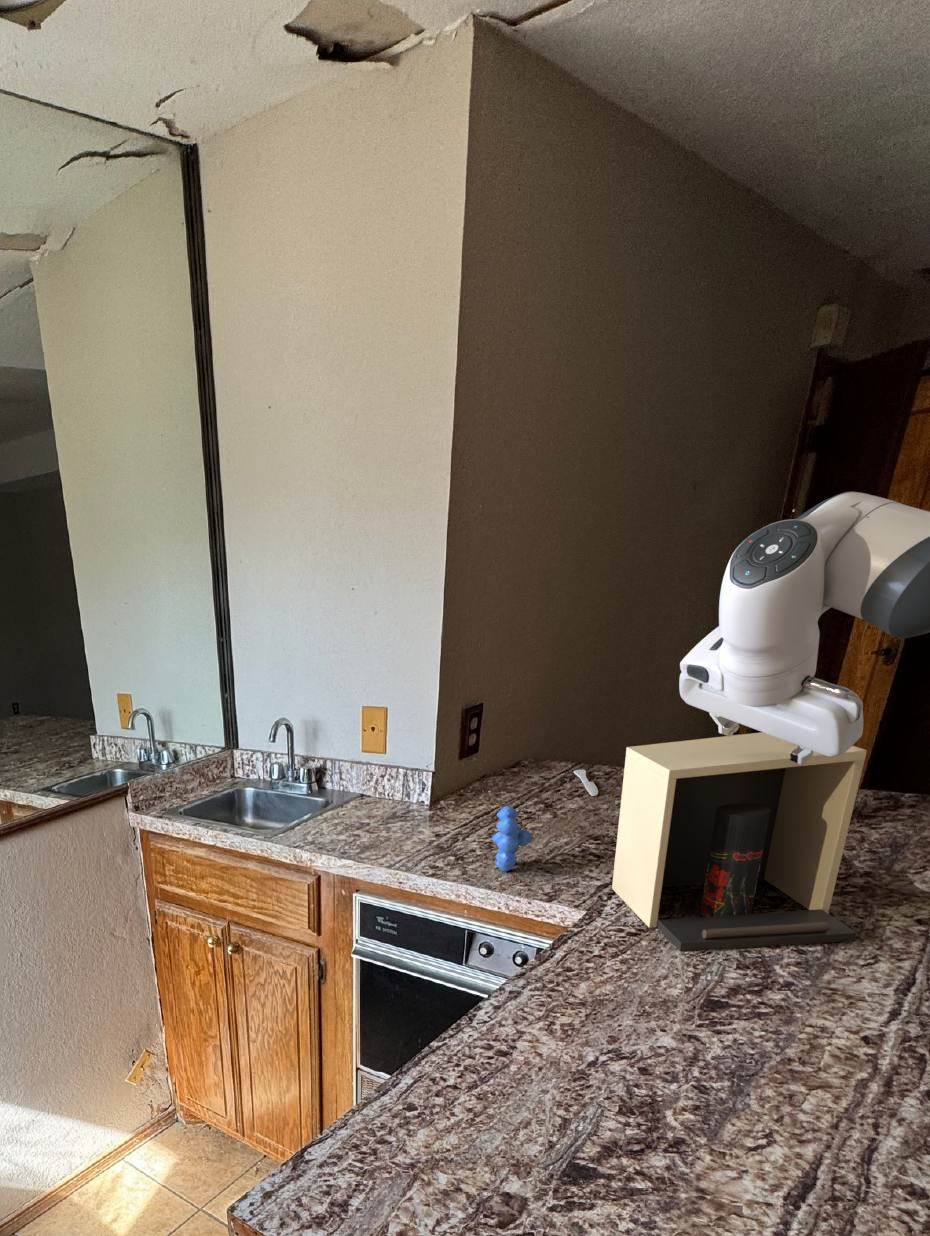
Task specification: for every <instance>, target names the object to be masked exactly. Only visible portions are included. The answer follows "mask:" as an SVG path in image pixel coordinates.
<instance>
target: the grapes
mask: <svg viewBox="0 0 930 1236" xmlns="http://www.w3.org/2000/svg"><path fill="white" fill-rule="evenodd" d="M518 816H519V813H518V811H517V810H516V809H515V808H514V807H512V806H511V805H505V806H503V807H502V808H501V809H500V810H499V811H498V813H497V814H496V817H497V818H498V819H499V821H498V822H497V823H496V825H495V827H496V828H497V830H498V831H497V832H496V833H495V834H494V835H493V836H492V837H491V841H492V842H493V843H494V844H495V845H496V846H497V853H496V854H495V856H494V858H495V860H496V862H495V863H494V864H495V865H496V867H497V868H498V869H499V870H500V871H502V872H509V871H510V870H511V869H512V868H514V866H515V865H516V863H517V862H516V860H518V857H517V856H516V855H515V854H516V853H517V852H518V851H519V850H520V847H525V846H527V845H528V844H529V843H530V842H531V841H533V839H534V837H535V836H533V834H532V833H531V832H530V831H529V830H528V829H526V828H523V829H520V828H521V826H520V825H519V824H518V823H517V822H516V819H517V817H518Z"/></svg>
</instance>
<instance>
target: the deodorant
mask: <svg viewBox="0 0 930 1236" xmlns="http://www.w3.org/2000/svg"><path fill="white" fill-rule="evenodd" d="M769 815H770V808H769V807H767V806H764V805H759V804H750V803H736V804H727V805H722V806H720V807H718V808H717V809H716V816H715V822H714V828H713V835H712V841H711V848H710V854H709V860H708V867H707V873H706V879H705V884H704V885H703V886H704V887H703V893H702V898H701V899H702V900H701V905H700V912H699V913H700V914H701V916H703V917H710V916H725V915H740V914H752V912H753V911H752V910H753V905H754V900H755V896H756V895H755V894H756V890H757V884H758V880H757V879H758V874H759V869H760V863H761V858H762V853H763V847H764V842H765V837H766V831H767V826H768V821H769Z"/></svg>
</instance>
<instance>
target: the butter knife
mask: <svg viewBox="0 0 930 1236" xmlns="http://www.w3.org/2000/svg"><path fill="white" fill-rule="evenodd" d="M573 774H574V775H575V776H576V777H577V778H579V779H580V781H581V783H582V784H583V787H584V788H585V789H586V791H587V793H588V794H589V795H590V796H591V797H595V796H597V795H598V794H599V790H598V789H599V788H598V787H597V785H596V784H595V782H594V781H589V779H588V778H587V771H586V769H575V770H574V771H573Z"/></svg>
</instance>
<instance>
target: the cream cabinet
mask: <svg viewBox="0 0 930 1236" xmlns="http://www.w3.org/2000/svg"><path fill="white" fill-rule="evenodd" d="M796 748H798V745H796V744H793V743H790V742H788V741H785V740H782V739H780V738H777V737H774V736H772V735H769V734H766V733H764V732H761V731H760V732H751V733H743V734H733V735H732V736H730V737H729V736H726V735H724V736H715V737H708V738H707V737H706V738H697V739H689V740H681V741H680V740H679V741H670V742H661V743H652V744H643V745H642V744H641V745H635V746H633V745H632V746H627V747H626V750H625V760H624V770H623V780H622V789H621V798H620V806H619V807H620V809H619V818H618V827H617V836H616V845H615V846H616V847H615V856H614V865H613V874H612V883H611V884H612V885H611V889H612V890H613V892H615V893H616V895H617V896H618V897H619V898H620V899H621V900H622V901H623V902H624V903H625V904H626V906H628V908H630V909H631V910H632V911H633V912H634V914H635V915H636V916H637V917H638V918H639V919H640V920H641V921H642V922H643V924H645V926H647V928H649V929H651V928H652V929H653V928H657V930H659V931H660V932H661V933H662V934H663V935H664V936H665V938H666V939H667V940H668V941H670V942H671V944H672V945H673V946H674V947H675V948H676V949H677V950H678V951H679V952H687V951H689V952H690V951H705V950H718V949H719V950H720V949H721V950H724V949H737V948H740V949H741V948H756V947H757V948H758V947H772V946H773V947H775V946H791V945H809V944H810V945H811V944H827V943H828V944H829V943H844V942H855V941H856V938H857V934H858V932H857V931H856V930H854V929H852V928H851V927H849V926H848V925H846V924H845V923H843V922H841V921H840V920H839V919H837V918H836V917H834V916H833V915H831V914H829V913H830V909H831V905H832V900H833V896H834V891H835V888H836V884H837V883H836V882H837V880H838V874H839V870H840V866H841V862H842V857H843V854H844V849H845V844H846V842H847V836H848V833H849V829H850V824H851V819H852V816H853V812H854V807H855V804H856V803H855V802H856V798H857V794H858V790H859V786H860V781H861V777H862V773H863V769H864V765H865V760H866V756H867V753H868V750H867V749H864V748H861V747H858V746H856V745H853V746H852V747H850V748H849V749H848V750H847V751H846V752H844V753H843V754H841V755H838V756H836V757H828V756H825V755H822V754H820V753H817V752H814V751H813V755H812V757H811V758H810V759H809V760H808V761H807V762H806V763H805V764H804V765H800V764H798V763H795V762H793V761H790V758H791V757H790V753H791V752H792V751H793V750H794V749H796ZM736 803H750V804H759V805H764V806H767V807H769V808H770V815H769V821H768V826H767V831H766V837H765V842H764V847H763V853H762V858H761V863H760V869H759V874H758V879H757V881H763V880H764V881H765V882H767V883H768V884H770V885H772V886H773V887H774V888H776V889H778V890H779V891H781V892H782V893H783V894H785V895H786V896H787V897H789V898H791V899H792V900H794V901H795V902H797V903H798V904H800V905H801V906H803V907H804V908H805V910H803V909H801V910H788V911H773V912H756V913H751V914H740V915H725V916H710V917H705V916H697V917H682V918H681V917H680V918H666V919H659V912H660V903H661V896H662V890H663V888H671V887H683V886H695V885H705V879H706V873H707V867H708V860H709V854H710V848H711V841H712V835H713V828H714V822H715V816H716V809H717V808H718V807H720V806H722V805H727V804H736Z"/></svg>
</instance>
